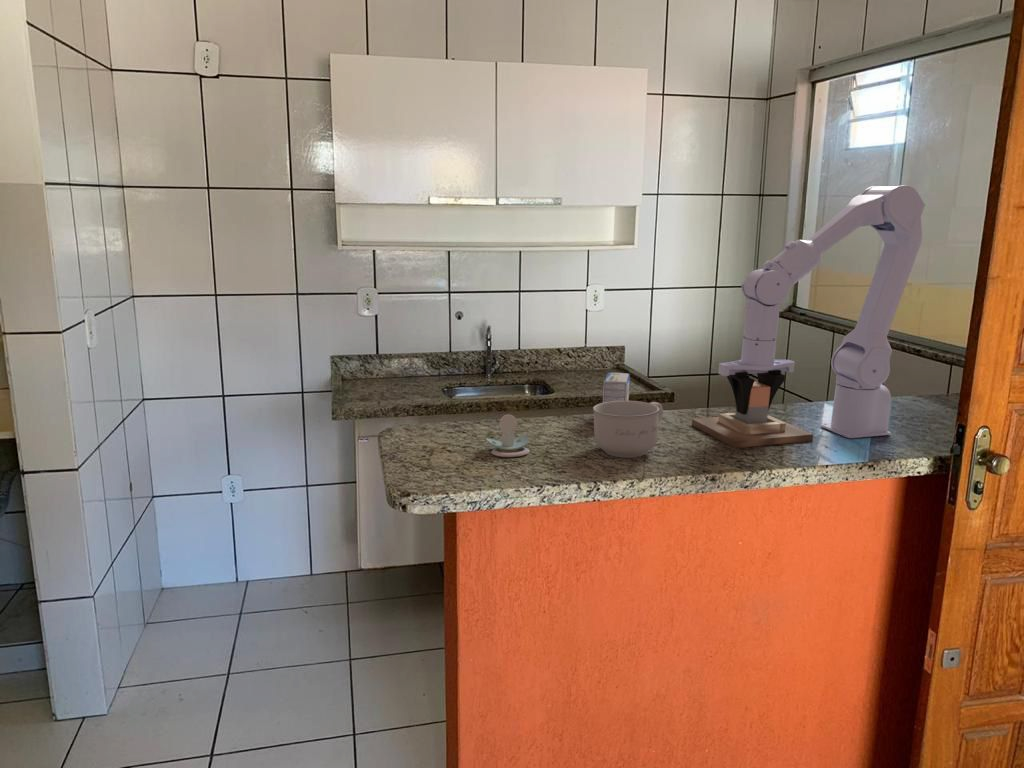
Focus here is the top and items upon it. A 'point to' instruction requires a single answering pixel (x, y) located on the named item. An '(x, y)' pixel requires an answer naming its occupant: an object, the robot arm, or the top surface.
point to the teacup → (626, 427)
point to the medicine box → (616, 387)
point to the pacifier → (509, 439)
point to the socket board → (751, 431)
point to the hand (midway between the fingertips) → (752, 412)
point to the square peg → (756, 405)
